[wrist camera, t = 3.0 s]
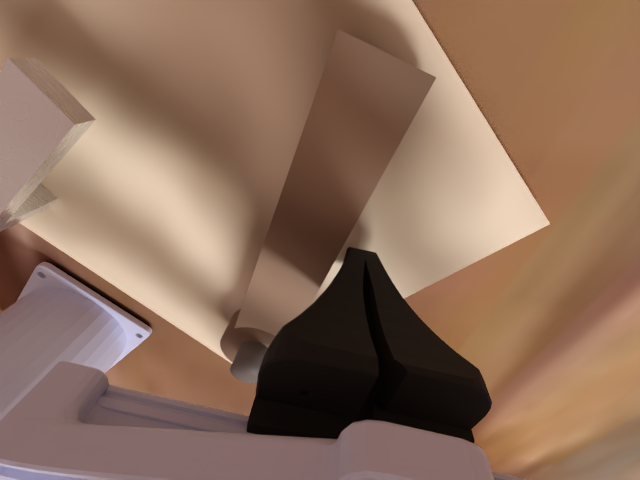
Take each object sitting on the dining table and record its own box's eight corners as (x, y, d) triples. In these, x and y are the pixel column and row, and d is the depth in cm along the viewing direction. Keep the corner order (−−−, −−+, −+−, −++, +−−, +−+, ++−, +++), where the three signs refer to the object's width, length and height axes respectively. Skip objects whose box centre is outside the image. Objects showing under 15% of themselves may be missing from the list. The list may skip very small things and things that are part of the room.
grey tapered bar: (284, 355, 19) (272, 402, 16) (226, 335, 18) (204, 379, 16) (438, 81, 9) (466, 89, 7) (327, 26, 9) (313, 14, 6)
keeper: (102, 58, 10) (7, 58, 8) (145, 108, 11) (75, 124, 8) (10, 175, 14) (-79, 205, 11) (48, 208, 14) (-25, 243, 12)
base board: (255, 363, 21) (251, 376, 21) (-31, 167, 15) (-54, 174, 14) (537, 212, 12) (549, 223, 12) (130, -437, 6) (93, -517, 5)
